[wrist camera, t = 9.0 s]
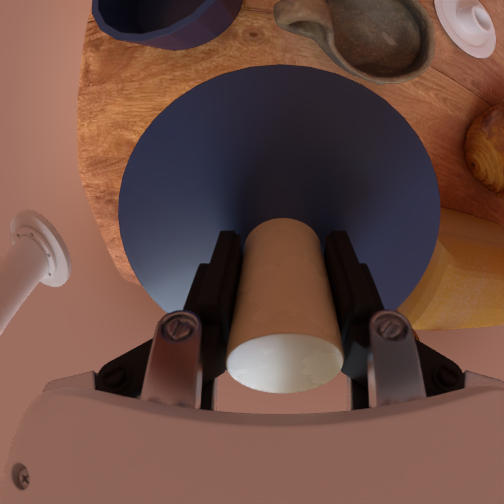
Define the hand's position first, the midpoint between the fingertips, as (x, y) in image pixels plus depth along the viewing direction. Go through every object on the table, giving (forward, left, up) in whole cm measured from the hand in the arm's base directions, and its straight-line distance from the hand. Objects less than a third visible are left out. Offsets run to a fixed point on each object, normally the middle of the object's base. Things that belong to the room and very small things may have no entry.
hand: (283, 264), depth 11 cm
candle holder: (+27, +22, -24) cm, 43 cm away
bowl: (+9, +15, -24) cm, 30 cm away
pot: (-10, +19, -24) cm, 33 cm away
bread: (+29, -14, -24) cm, 40 cm away
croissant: (+34, +4, -24) cm, 42 cm away
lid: (0, 0, -1) cm, 1 cm away
